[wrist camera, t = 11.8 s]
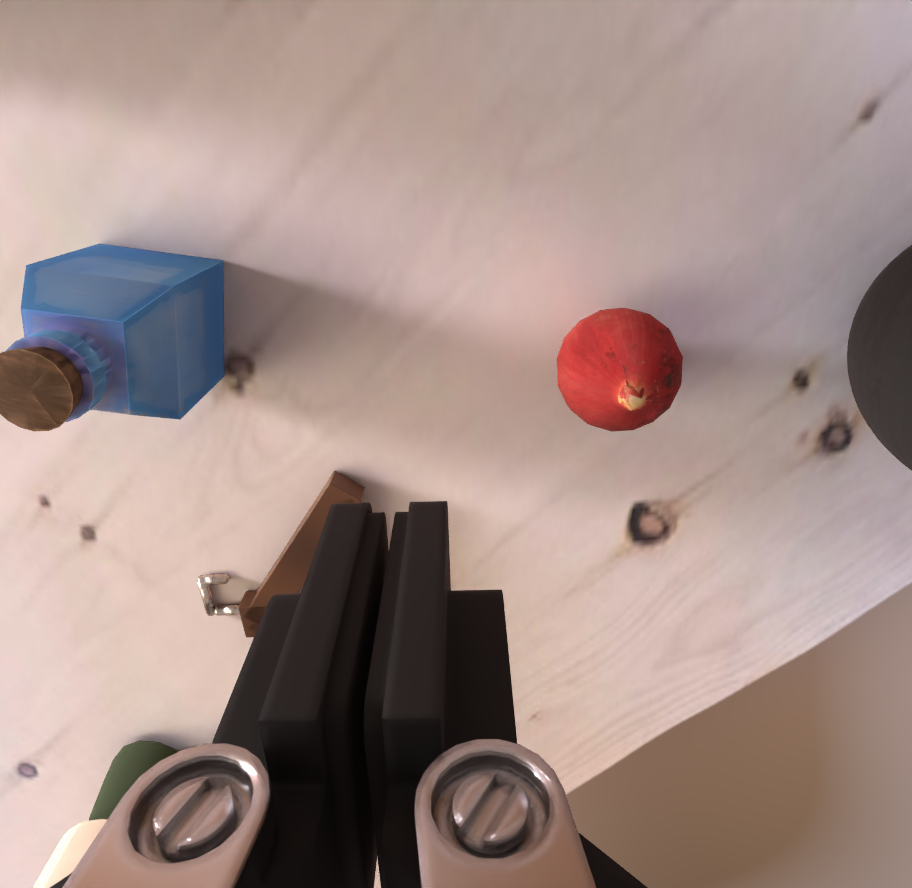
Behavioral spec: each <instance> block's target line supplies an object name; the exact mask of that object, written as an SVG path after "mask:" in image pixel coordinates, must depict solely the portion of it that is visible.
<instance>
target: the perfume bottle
mask: <svg viewBox="0 0 912 888" xmlns="http://www.w3.org/2000/svg"><path fill="white" fill-rule="evenodd" d="M21 314H22V321H23V328H24V336H25V337H24V338H22V339H20V340H18V341H15V342H14V343H13V344H12V345H11V346H10V347H9V348H8V349H7V350H6V351H5V352H3V353H0V414H1V415H2V416H3V417H4V418H6V419H7V420H8V421H10V422H11V423H13V424H15V425H17V426H19V427H21V428H24V429H28V430H32V431H49V430H52V429H55V428H57V427H59V426H61V425H62V424H63V423H64V422H68V421H71V420H73V419H76V418H79V417H80V416H82V415H83V414H84V413H86V412H87V411H89V410H98V411H106V412H114V413H121V414H129V415H140V416H150V417H161V418H171V419H181V418H182V417H183V416H184V415H185V414H186V413H187V412H188V411H189V410H190V409H191V408H192V407H193V406H194V405H195V404H196V403H197V402H198V401H199V400H200V399H201V398H202V397H203V396H205V395H206V394H207V393H208V392H209V391H210V390H211V389H212V388H213V387H214V386H215V385H216V384H217V383H218V382H219V381H220V380H221V379H222V378H223V377H224V294H223V260H215V259H208V258H201V257H193V256H186V255H179V254H171V253H164V252H157V251H149V250H142V249H134V248H127V247H120V246H112V245H105V244H97V245H93V246H90V247H87V248H83V249H80V250H77V251H73V252H70V253H66V254H63V255H60V256H56V257H53V258H50V259H46V260H43V261H39V262H36V263H33V264H29V265H26V270H25V278H24V287H23V295H22V303H21Z"/></svg>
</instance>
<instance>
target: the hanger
mask: <svg viewBox="0 0 912 888" xmlns="http://www.w3.org/2000/svg"><path fill="white" fill-rule="evenodd" d="M364 488H365V487H363V486H362V485H360V484H358V483H356V482H355V481H353V480H351V479H349V478H348V477H346V476H344V475H342V474H340V473H339V472H337V471H334V473H333V474H332V476H331V477H330V479H329V480H328V482H327V484H326V485H325V487H324V488H323V490H322V491H321V493H320V494H319V496H318V497H317V499H316V501H315V502H314V504H313V505H312V507H311V508H310V510H309V511H308V513H307V514H306V516H305V518H304V519H303V521H302V522H301V524H300V525H299V527H298V528H297V530H296V532H295V533H294V535H293V536H292V538H291V539H290V541H289V542H288V544H287V545H286V547H285V549H284V550H283V552H282V553H281V555H280V556H279V558H278V559H277V561H276V562H275V564H274V566H273V567H272V569H271V570H270V572H269V573H268V575H267V576H266V578H265V579H264V581H263V583H262V584H261V586H260V587H259V589H258V590H257V591H246V592H245V594H244V596H243V598H242V601H241V603H240V605H225V606H217V607H215V604H214V601H213V597H212V593H211V590H210V586H209V585H210V584H226V583H228V582H229V579H230V578H229V576H228V575H227V574H214V575H201V576H199V577H198V579H197V582H198V585H199V589H200V592H201V596H202V599H203V603H204V606H205V610H206V613H207V615H209V616H213V615H214V614H215V615H239V614H240V615H241V619H242V623H243V627H244V631H245V635H246V637H255V634H256V632H257V629H258V627H259V624H260V622H261V619H262V617H263V614H264V612H265V609H266V607H267V604H268V602H269V601H270V599H271V597H272V596H274V595H275V594H298V592H299V591H300V589H301V588H302V586H303V585H304V583H305V580H306V577H307V574H308V571H309V568H310V565H311V562H312V559H313V556H314V553H315V550H316V547H317V544H318V541H319V539H320V536H321V533H322V530H323V527H324V524H325V521H326V518H327V515H328V512H329V509H330V506H331V504H344V503H361V498H362V495H363V491H364Z"/></svg>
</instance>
